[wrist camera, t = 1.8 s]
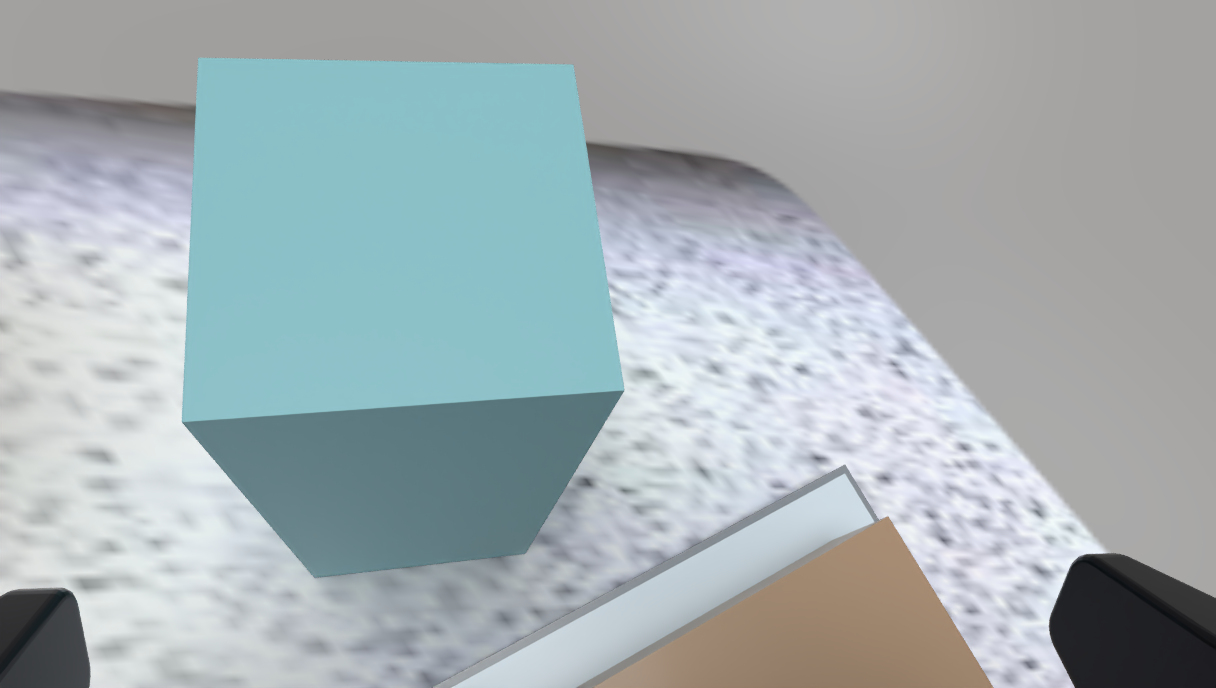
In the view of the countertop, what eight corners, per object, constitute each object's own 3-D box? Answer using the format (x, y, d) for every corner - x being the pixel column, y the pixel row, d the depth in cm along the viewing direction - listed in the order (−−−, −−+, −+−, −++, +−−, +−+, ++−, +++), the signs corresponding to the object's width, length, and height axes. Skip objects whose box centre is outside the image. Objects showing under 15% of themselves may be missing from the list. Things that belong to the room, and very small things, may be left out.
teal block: (525, 553, 21) (624, 389, 10) (314, 577, 20) (181, 421, 9) (506, 367, 23) (573, 64, 12) (311, 379, 22) (197, 58, 11)
